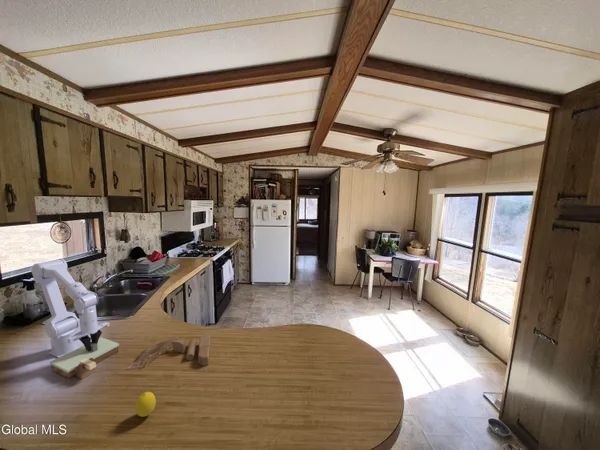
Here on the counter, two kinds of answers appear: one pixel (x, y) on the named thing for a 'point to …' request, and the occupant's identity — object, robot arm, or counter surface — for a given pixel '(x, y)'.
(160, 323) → the counter surface
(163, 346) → the wooden fragment
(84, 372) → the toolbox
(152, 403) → the lemon
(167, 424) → the counter surface
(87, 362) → the key
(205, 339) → the wooden block set
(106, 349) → the lid
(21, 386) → the counter surface
